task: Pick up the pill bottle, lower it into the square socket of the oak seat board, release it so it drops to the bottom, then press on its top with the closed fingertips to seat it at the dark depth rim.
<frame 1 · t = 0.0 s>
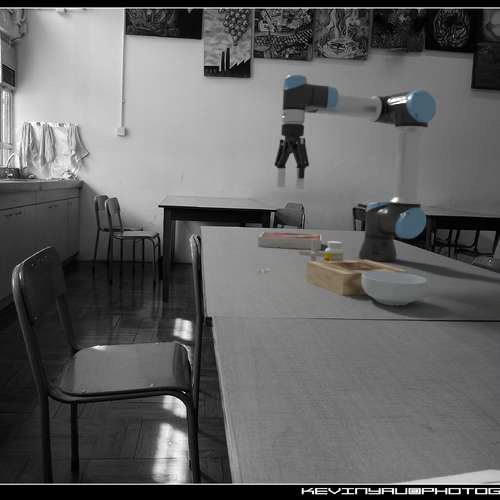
hand: (289, 188, 175), 28 cm above the table, fingers open, 13 cm apart
seat board: (354, 285, 156), on the table
pipe connector: (312, 268, 184), on the table
cereal bowl: (391, 303, 137), on the table
product packaging: (290, 246, 242), on the table
pill bottle: (332, 275, 172), on the table
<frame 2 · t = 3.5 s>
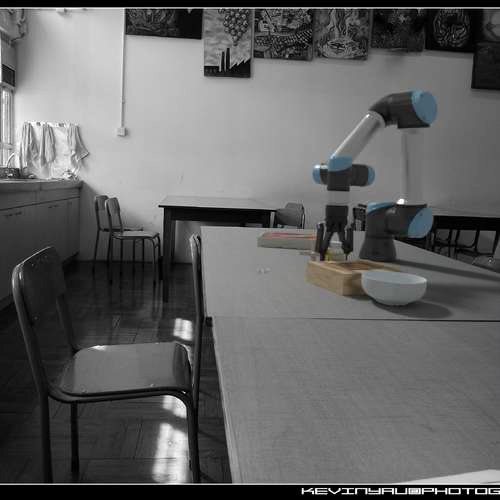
hand: (332, 273, 172), 0 cm above the table, fingers closed on pill bottle, 6 cm apart
pill bottle: (332, 275, 172), on the table, touching gripper
everything else where it was.
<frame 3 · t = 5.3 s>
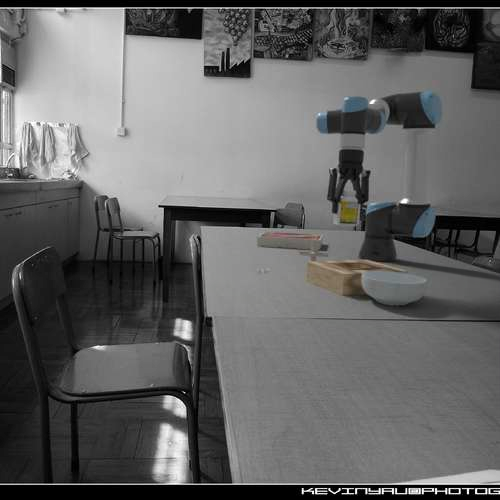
hand: (346, 224, 160), 18 cm above the table, fingers closed on pill bottle, 6 cm apart
pill bottle: (345, 226, 161), point 17 cm above the table, touching gripper
everything else where it was.
when the fingers open (7 cm above the table, at t = 7.1 s): pill bottle drops 7 cm, resting in seat board.
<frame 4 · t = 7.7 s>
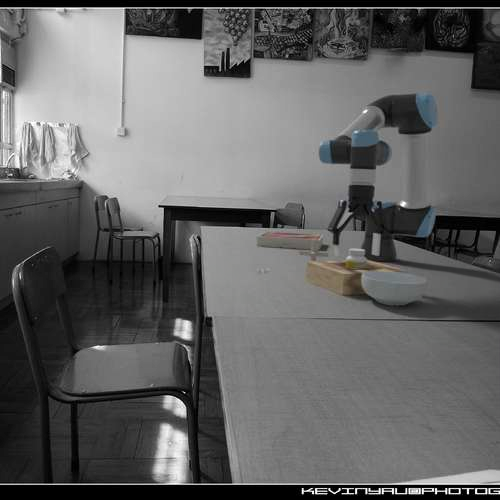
hand: (356, 255, 154), 9 cm above the table, fingers open, 13 cm apart
pill bottle: (354, 286, 156), resting in seat board
everything else where it was.
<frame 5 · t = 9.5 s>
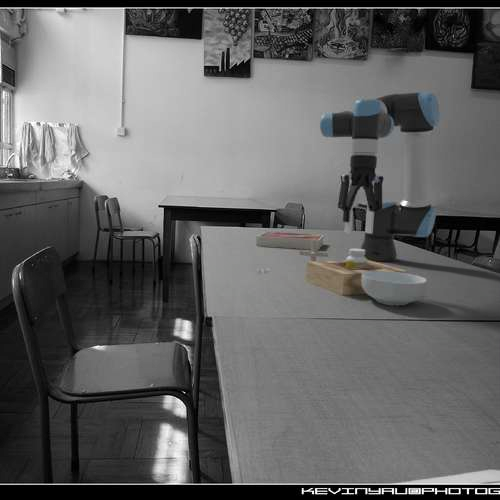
hand: (358, 233, 153), 16 cm above the table, fingers open, 7 cm apart
nothing on the table moved.
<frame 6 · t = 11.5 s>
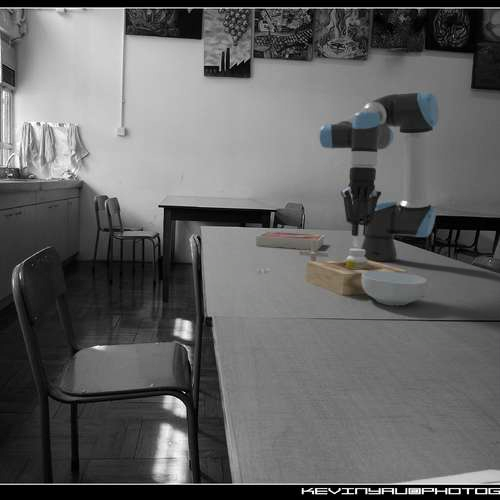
hand: (357, 246, 154), 12 cm above the table, fingers closed
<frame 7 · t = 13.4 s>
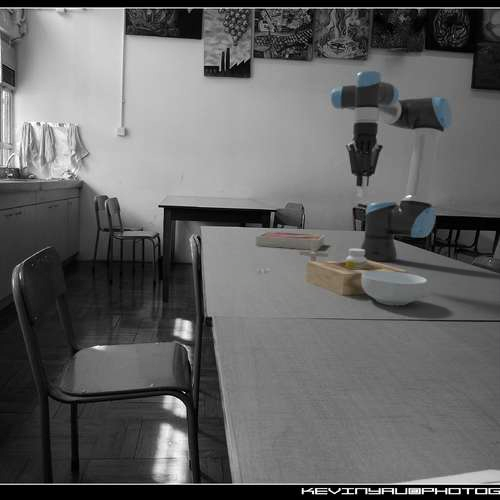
hand: (361, 196, 168), 26 cm above the table, fingers closed
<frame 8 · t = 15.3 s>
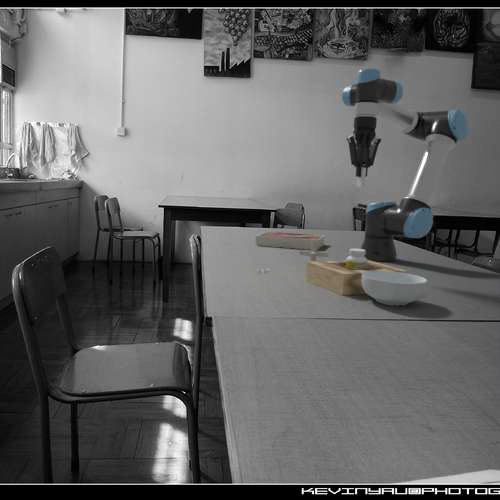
hand: (360, 186, 179), 29 cm above the table, fingers closed
at the end: pill bottle 0.1 cm off-centre on the seat board, point 0.0 cm above the seat board's base; pill bottle tilted 1°; the gripper is holding nothing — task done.
